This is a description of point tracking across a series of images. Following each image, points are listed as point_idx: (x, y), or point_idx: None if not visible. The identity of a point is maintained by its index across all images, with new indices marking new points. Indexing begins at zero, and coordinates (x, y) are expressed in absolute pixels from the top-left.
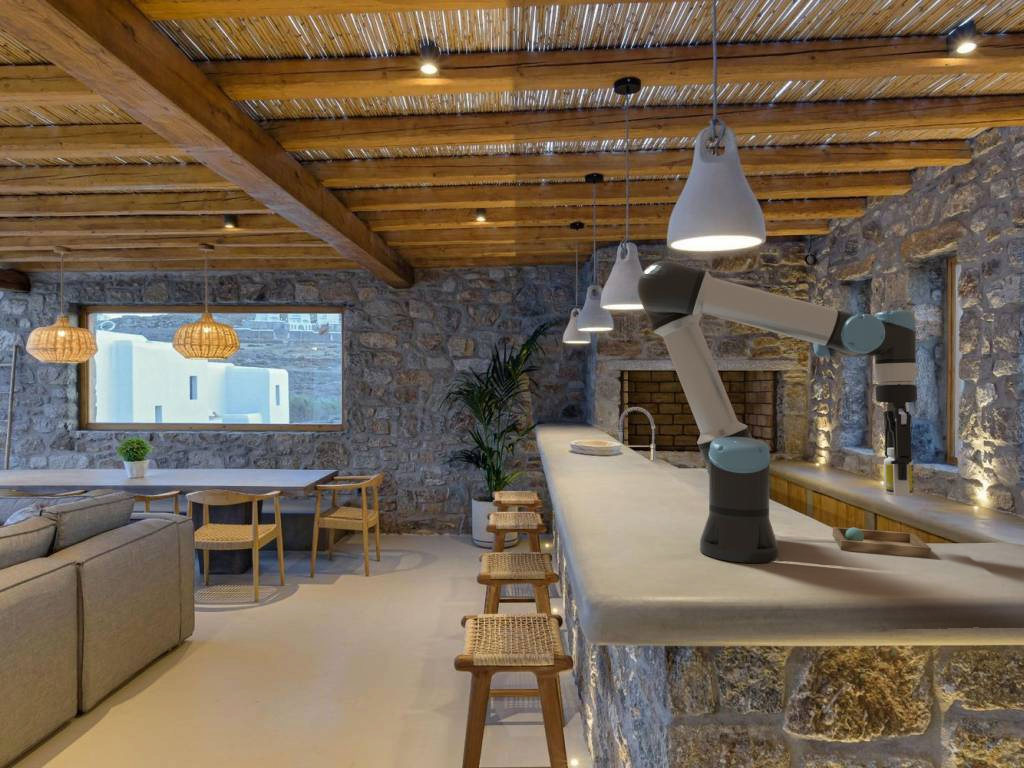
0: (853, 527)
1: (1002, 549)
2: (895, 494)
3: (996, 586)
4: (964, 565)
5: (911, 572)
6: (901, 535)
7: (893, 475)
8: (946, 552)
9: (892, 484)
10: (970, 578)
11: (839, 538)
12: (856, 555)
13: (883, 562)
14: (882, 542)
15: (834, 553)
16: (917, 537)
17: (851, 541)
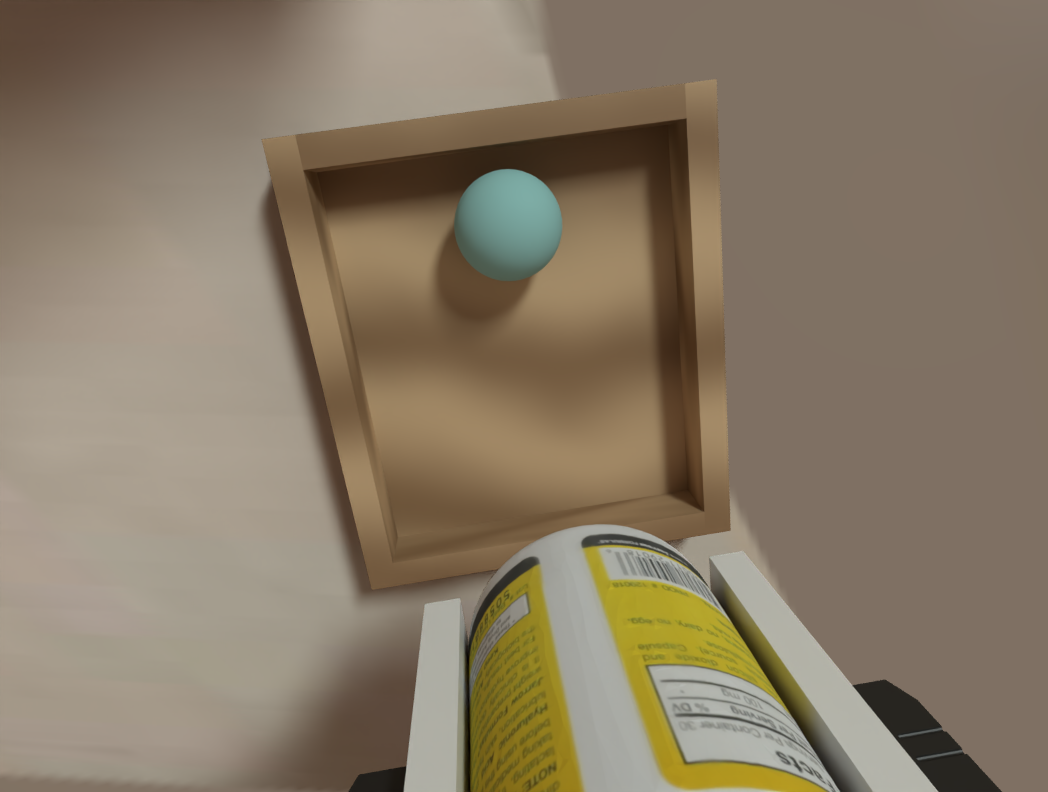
0: (516, 220)
1: None
2: (423, 617)
3: (67, 733)
4: (373, 661)
5: (68, 473)
6: (697, 470)
7: (454, 761)
8: None
9: (484, 658)
10: (137, 668)
11: (347, 128)
12: (275, 231)
13: (196, 362)
14: (623, 369)
15: (245, 106)
16: None
17: (280, 205)
